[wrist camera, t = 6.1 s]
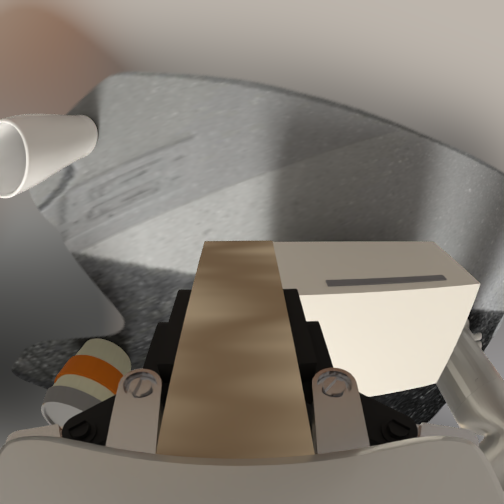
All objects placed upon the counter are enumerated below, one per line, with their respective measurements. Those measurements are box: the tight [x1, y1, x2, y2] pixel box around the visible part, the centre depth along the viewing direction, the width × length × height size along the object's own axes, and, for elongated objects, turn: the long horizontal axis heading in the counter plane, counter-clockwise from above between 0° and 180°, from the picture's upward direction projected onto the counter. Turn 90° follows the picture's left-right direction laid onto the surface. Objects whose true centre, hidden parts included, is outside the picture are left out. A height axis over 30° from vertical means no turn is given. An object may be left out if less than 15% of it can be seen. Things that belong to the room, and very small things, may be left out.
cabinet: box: [273, 241, 480, 397], centre depth 33 cm, size 20×14×15 cm
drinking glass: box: [0, 114, 98, 198], centre depth 24 cm, size 7×7×15 cm
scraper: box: [156, 241, 315, 459], centre depth 13 cm, size 3×18×11 cm, turn 0°
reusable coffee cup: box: [41, 339, 131, 426], centre depth 39 cm, size 12×13×15 cm
